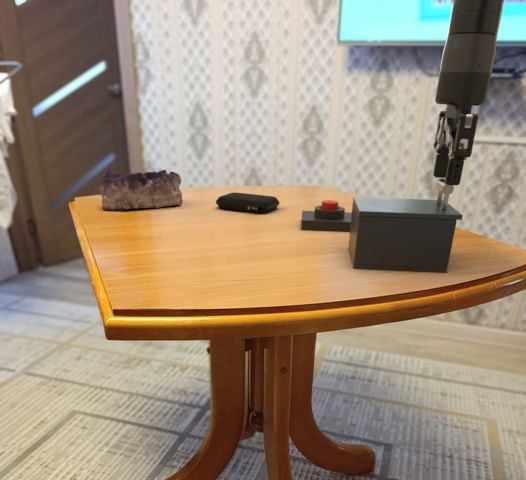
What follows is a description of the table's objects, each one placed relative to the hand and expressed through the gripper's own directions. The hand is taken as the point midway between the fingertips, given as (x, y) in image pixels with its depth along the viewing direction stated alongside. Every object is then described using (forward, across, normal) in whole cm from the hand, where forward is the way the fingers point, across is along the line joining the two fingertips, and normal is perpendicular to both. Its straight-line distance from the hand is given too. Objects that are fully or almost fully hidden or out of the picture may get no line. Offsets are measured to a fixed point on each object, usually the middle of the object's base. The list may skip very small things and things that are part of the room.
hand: (445, 180), depth 85 cm
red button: (+10, +24, +18) cm, 31 cm away
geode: (+14, +37, +64) cm, 75 cm away
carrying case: (+14, +39, +38) cm, 56 cm away
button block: (+14, +24, +18) cm, 33 cm away
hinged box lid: (+5, 0, +6) cm, 8 cm away
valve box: (+14, 0, +6) cm, 15 cm away
